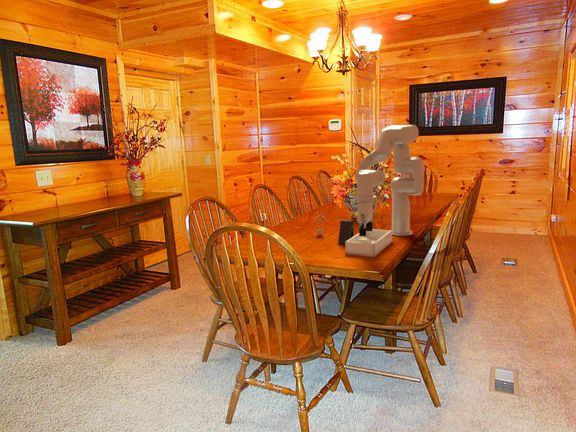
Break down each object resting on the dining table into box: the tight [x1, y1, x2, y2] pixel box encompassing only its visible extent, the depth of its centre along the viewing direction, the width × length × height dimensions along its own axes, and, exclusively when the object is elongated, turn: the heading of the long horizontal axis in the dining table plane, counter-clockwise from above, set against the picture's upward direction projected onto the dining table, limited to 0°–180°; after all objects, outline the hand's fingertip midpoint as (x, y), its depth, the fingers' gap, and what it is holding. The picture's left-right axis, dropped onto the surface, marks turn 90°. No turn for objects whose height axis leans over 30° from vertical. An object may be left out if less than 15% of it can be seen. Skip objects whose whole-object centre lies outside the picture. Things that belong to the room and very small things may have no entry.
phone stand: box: [337, 219, 356, 246], centre depth 223 cm, size 9×6×12 cm, turn 149°
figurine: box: [312, 213, 329, 237], centre depth 241 cm, size 8×6×12 cm
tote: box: [344, 228, 393, 258], centre depth 212 cm, size 30×14×6 cm, turn 151°
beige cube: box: [359, 237, 372, 243], centre depth 206 cm, size 5×5×5 cm
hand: (366, 233), depth 206 cm, fingers open, 9 cm apart
